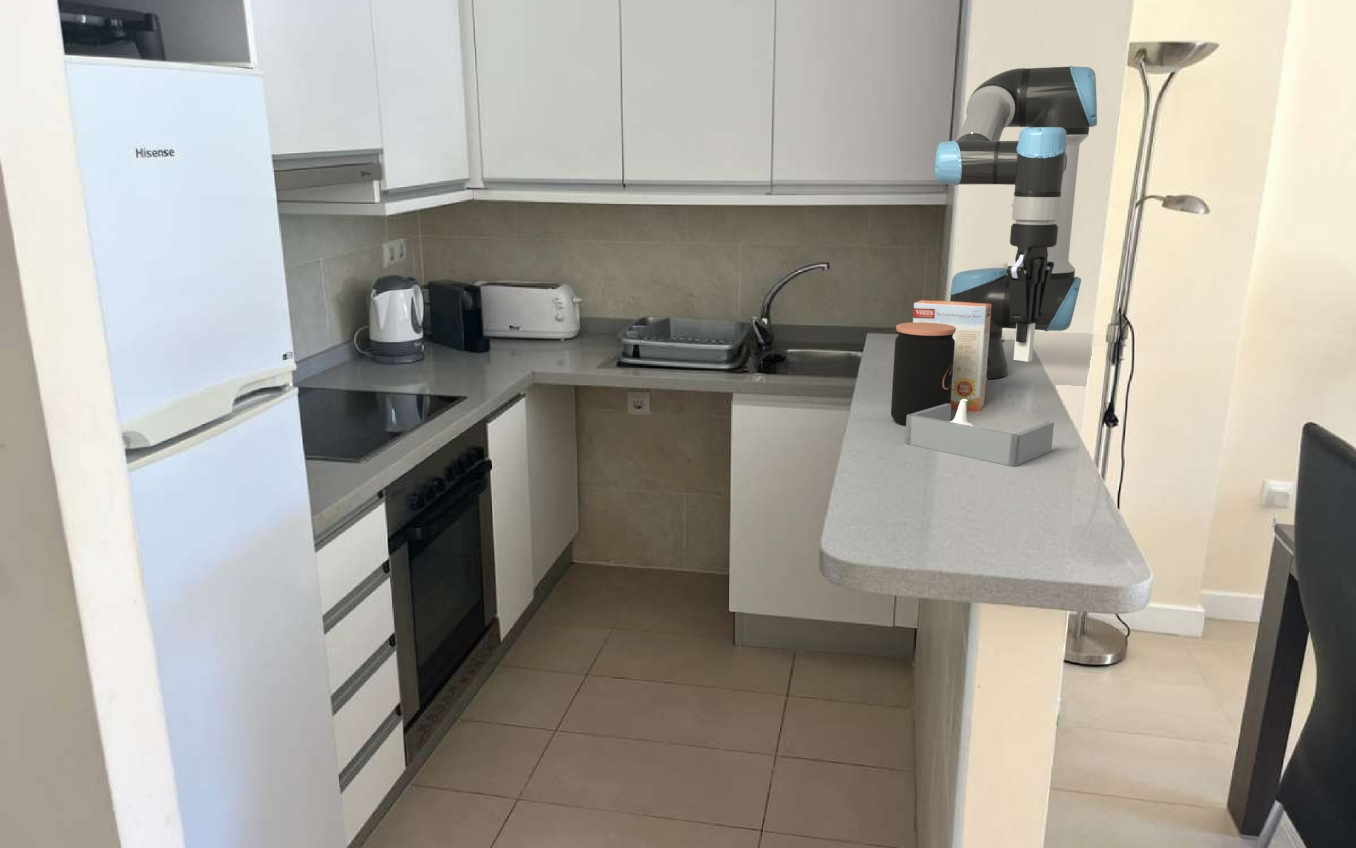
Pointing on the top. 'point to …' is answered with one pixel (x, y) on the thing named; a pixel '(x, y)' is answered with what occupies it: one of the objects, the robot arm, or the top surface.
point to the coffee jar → (921, 368)
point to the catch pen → (976, 438)
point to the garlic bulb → (962, 413)
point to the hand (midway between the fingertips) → (1022, 359)
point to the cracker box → (963, 345)
